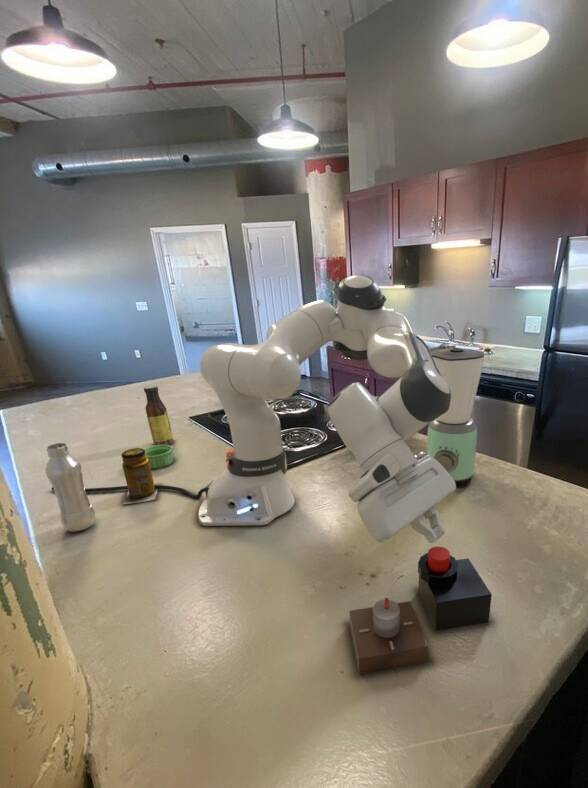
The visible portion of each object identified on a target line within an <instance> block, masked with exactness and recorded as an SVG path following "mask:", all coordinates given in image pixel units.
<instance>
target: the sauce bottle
mask: <svg viewBox="0 0 588 788" xmlns="http://www.w3.org/2000/svg"><path fill="white" fill-rule="evenodd" d="M143 391H144V393H145V395H146V405H145V414H146V419H147V423H148V427H149V431H150V435H151V438H152V439H151V440H152V442H153V446H155V445H172V444H173V442H174V436H173V432H172V427H171V423H170V417H169V414H168V410H167V407H166V406H165V404H164V403H163V401H162V399H161V397H160V394H159V387H158V385H148V386H144V387H143Z"/></svg>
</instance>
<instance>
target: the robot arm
mask: <svg viewBox="0 0 588 788" xmlns="http://www.w3.org/2000/svg"><path fill="white" fill-rule="evenodd" d="M336 298H337V306H336V308H335V307H334V305H333V304H331V303H330V302H328V301H326V300H315V301H311V302H309V303H306V304H304V305H301V306H299V307H298V308H295V309H294V310H292V311H290V312H289V313H288V314H286V315H284V316H282V317H281V318H280V319H278V320H277V321H275V322H274V323H272V324H271V325H269V327H268V329H267V330H266V338H265V340H264V341H262V342H260V343H256V344H241V343H233V342H226V343H225V342H224V343H220V344H216V345H211V346H210V347H208V348H207V349H206V350H204V352H203V354H202V356H201V359H200V362H199V370H200V374H201V376H202V378H203V379H204V380H205V382H206V383H207V384H208V385H209V386H210V387H211V389H212V390H213V391H214V393H215V395H216V396H217V398H218V400H219V402H220V405H221V407H222V409H223V411H224V414H225V416H226V419H227V422H228V425H229V429H230V435H231V440H232V447H233V448H232V449H231V448H230V449H228V450H227V452H226V455H225V457H226V460H225V462H226V463H225V464H226V468H227V469H226V470H225V471H223V472H222V473H221V474H220V475H218V476H217V477H215V478H214V479H213V480H211V481H210V482H209V483H208V484H207V485H206V486H204V487H203V488H201V489H199V491H198V493H197V494H194V493H192V492H190V491H188V490H186V489H184V488H182V487H177V486H173V485H163V484H154V486H155V488H154V489H158V490H169V491H175V492H180V493H183V494H184V495H185V496H187V497H190V498H192V499H196V500H197V499H200V498H201V497H202V495H203V493H205V499H204V500H203V501H202V503H201V504H200V506H199V509H198V516H197V517H198V522H199V524H200V525H202V526H204V527H225V526H228V527H229V526H231V527H232V526H233V527H234V526H236V527H237V526H238V527H239V526H266V525H268V524H270V523H271V522H272V521H273V520H274V519H275V518H278V517H281V516H282V515H285V514H286V513H287V512H288V511H290V510H291V509H292V508H293V507H294V505H295V502H296V500H295V499H296V498H295V497H294V495H293V492H292V489H291V487H290V484H289V479H288V474H287V470H288V463H287V454H286V450H285V448H284V446H283V435H282V427H281V420H280V417H279V416H278V414H277V413H276V412H275V410H273V408H272V407H271V406H270V405H269V403H268V401H269V400H271V401H273V400H284V399H288V398H290V397H292V396H293V395H294V394H295V393H296V392H297V390H298V388H299V387H300V384H301V378H302V370H301V365H302V364H303V363H304V362H305V361H306V360H307V359H308V358H310V357H311V356H312V355H314V354H315V353H316V352H317V351H319V350H320V349H321V348H322V347H323V346H325V345H326V344H327V343H329V342H332V346H333V348H334V349H335V350H336V351H337V352H340V353H341V355H343V356H345V357H346V358H348V359H351V360H353V361H356V362H357V361H359V362H360V361H361V362H362V361H366V360H367V361H368V364H369V365H370V367H371V369H372V370H373V371H374V373H377V374H378V375H379V376H381V377H385V378H387V379H388V378H389V379H397V380H396V382H394V383H393V384H392V385H391V386H390V387H389V388H388V389H386V391H384V393H382V394H381V395H380V396H377V395H373V394H371V393H370V392H369V391H368V390H367V388H366V387H365V386H364V385H362V384H361V382H358V381H356V382H352V383H350V384H348V385H346V386H345V387H344V388H342V389H341V390H340V391H339V392H337V394H335V396H334V397H332V399H331V400H330V401H329V403H328V405H327V413H328V416H329V419H330V421H331V424H332V425H333V427H334V429H335V431H336V433H337V434H338V436H339V438H340V440H341V441H342V442H343V444H344V445H345V447H346V448H347V449H348V450H349V451H351V453H352V454H353V455H354V457H355V458H356V461H357V465H358V467H359V468H360V470H361V472H362V474H361V475H360V477H359V478H358V479H357V481H356V482H355V483H354V484H353V486H351V488H350V489H349V491H348V492H347V493H348V497H349V498H350V500H351V501H352V502H353V503H357V504H356V505H357V506H356V509H357V512H358V515H359V517H360V520H361V521H362V523H363V524H364V526H365V528H366V530H367V532H368V533H369V535H370V536H371V538H372V539H373V540H374V541H376V542H379V543H385V542H386V541H388V540H390V539H391V538H393V537H394V536H396V535H397V534H398V533H399V532H401V531H402V530H404V529H405V528H407V526H409V525H410V526H411V527H412V529H413V530H414V531H416V532H417V533H419V534H421V535H423V536H424V537H425V539H426V540H427V542H428V543H429V544H433V543H435V542H437V541H438V540H439V539H440V538H441V537H442V536H444V535H445V534H446V530H445V528H444V527H443V526H442V525H443V524H441V517H440V513H439V510H438V508H437V507H436V505H437V504H439V503H441V501H443V500H444V499H445V498H447V497H448V496H449V495H451V494H452V493H453V492H455V491H456V490H457V483H456V484H455V481H454V480H453V478H452V477H451V476H450V474H449V473H448V472H447V471H446V470H445V468H444V467H443V466H442V465H441V464H440V463H439V462H438V461H437V460H436V459H434V458H433V457H432V456H431V455H430V454H427V452H424V451H419V452H418V453H416V454H414V453H413V452H412V450H411V449H410V447H409V446H408V444H407V442H406V441H408V440H409V439H411V438H412V437H413V436H415V435H416V434H417V433H418V432H420V431H422V429H423V428H425V427H426V426H428V425H429V423H430V422H432V421H433V420H435V419H437V418H438V417H440V416H441V415H443V414H444V413H446V412H447V411H448V409H449V406H450V401H451V390H450V388H449V386H448V384H447V382H446V381H445V379H444V378H443V377H442V375H441V374H440V372H439V370H438V368H437V366H436V363H435V361H434V359H433V357H432V355H431V350H430V348H429V347H428V345H427V344H426V342H425V341H424V339H422V338H421V337H420V336H419V335H417V334H416V333H414V332H413V330H412V328H411V325H410V323H409V321H408V319H407V318H406V317H405V315H404V314H402V313H400V312H398V311H392V310H388V309H386V307H385V302H387V297H386V296H385V295H384V294H383V292H382V291H381V288H380V286H379V284H378V283H377V282H376V281H375V279H373V278H372V277H370V276H367V275H363V274H362V275H361V274H355V275H349V276H347V277H345V278H344V279H342V280H340V282H339V284H338V287H337V293H336ZM51 490H52V491H54V489H53V487H51ZM121 490H123V491H124V490H128V487H127V485H121V486H120V485H119V486H108V487H91V488H85V492H86V493H97V492H112V491H121ZM427 519H428V522H429V525H428V524H426V520H427Z"/></svg>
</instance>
